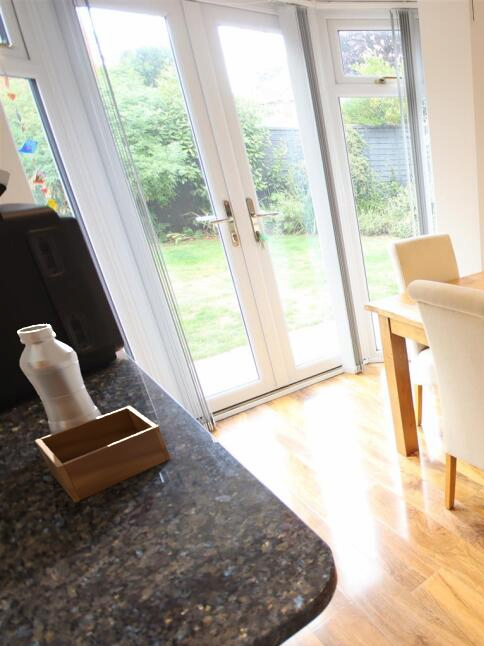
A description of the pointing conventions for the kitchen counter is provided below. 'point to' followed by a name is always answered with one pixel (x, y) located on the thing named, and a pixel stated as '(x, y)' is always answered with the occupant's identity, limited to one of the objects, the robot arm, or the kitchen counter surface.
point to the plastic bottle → (56, 378)
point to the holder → (103, 452)
